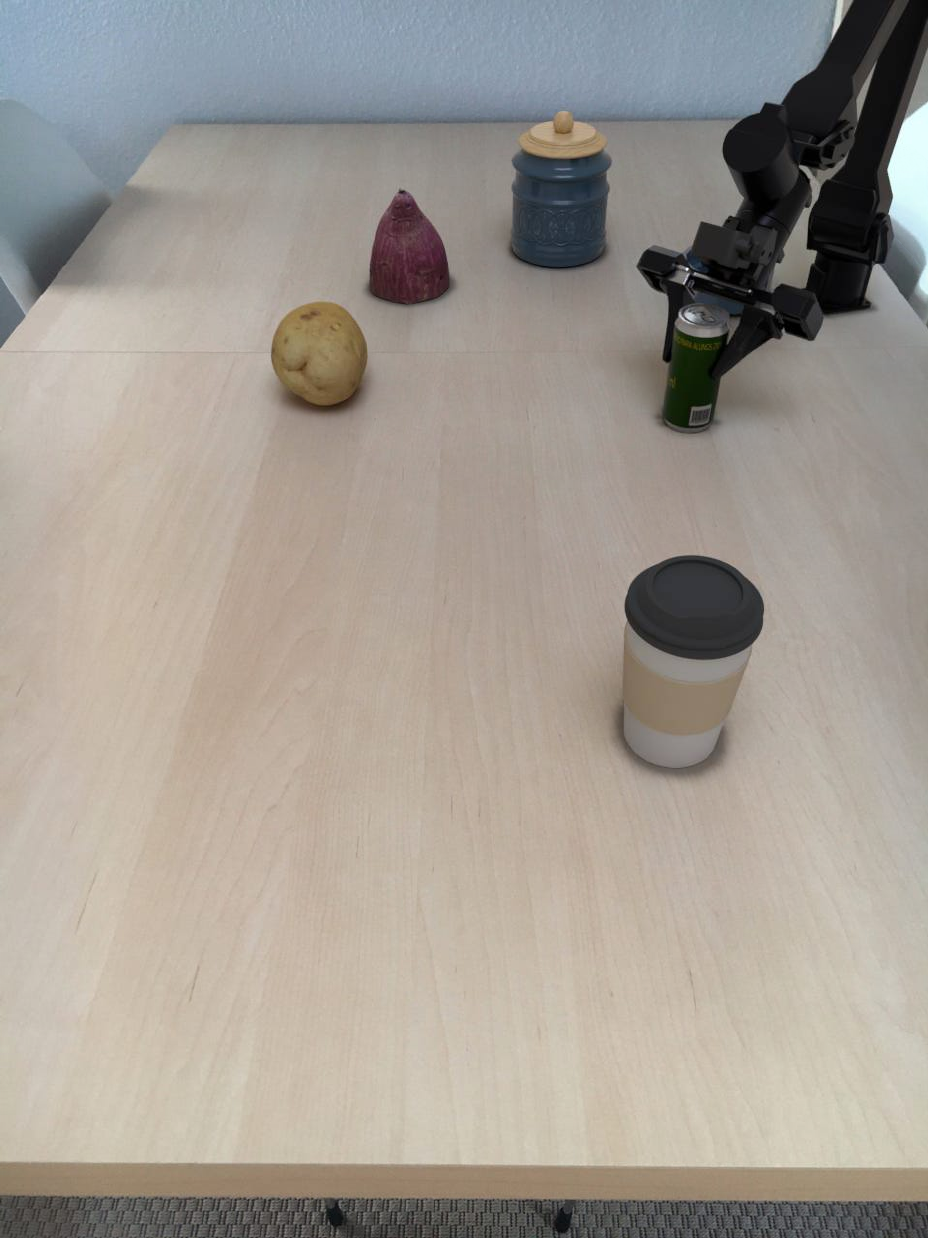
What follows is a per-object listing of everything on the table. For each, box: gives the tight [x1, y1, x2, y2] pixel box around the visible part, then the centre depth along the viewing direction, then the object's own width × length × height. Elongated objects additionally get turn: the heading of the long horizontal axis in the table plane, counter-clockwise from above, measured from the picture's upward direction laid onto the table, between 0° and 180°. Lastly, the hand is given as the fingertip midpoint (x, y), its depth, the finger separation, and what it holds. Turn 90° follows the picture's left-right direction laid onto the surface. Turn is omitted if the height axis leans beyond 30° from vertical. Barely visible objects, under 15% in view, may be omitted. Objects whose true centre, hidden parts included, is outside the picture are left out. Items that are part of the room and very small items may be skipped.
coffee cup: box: [622, 554, 765, 769], centre depth 69 cm, size 9×9×15 cm
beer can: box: [661, 303, 731, 434], centre depth 101 cm, size 5×5×12 cm
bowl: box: [682, 244, 776, 315], centre depth 123 cm, size 11×11×5 cm
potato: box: [270, 301, 369, 406], centre depth 107 cm, size 10×12×10 cm
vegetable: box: [368, 187, 451, 305], centre depth 124 cm, size 10×10×15 cm
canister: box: [510, 110, 613, 268], centre depth 130 cm, size 13×13×18 cm
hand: (688, 370), depth 100 cm, fingers closed on beer can, 5 cm apart
